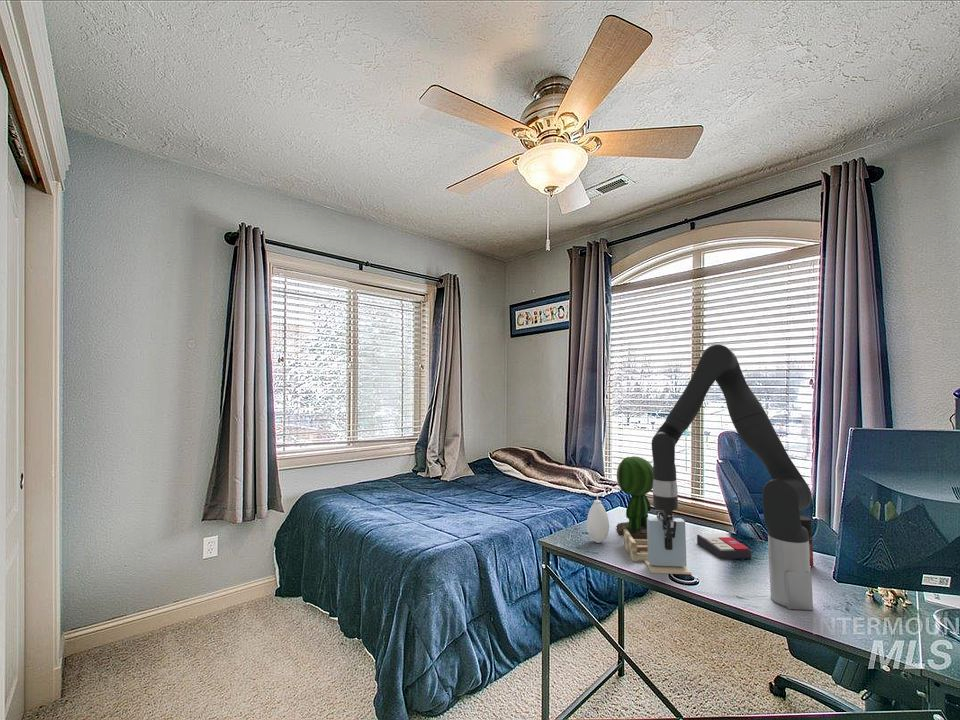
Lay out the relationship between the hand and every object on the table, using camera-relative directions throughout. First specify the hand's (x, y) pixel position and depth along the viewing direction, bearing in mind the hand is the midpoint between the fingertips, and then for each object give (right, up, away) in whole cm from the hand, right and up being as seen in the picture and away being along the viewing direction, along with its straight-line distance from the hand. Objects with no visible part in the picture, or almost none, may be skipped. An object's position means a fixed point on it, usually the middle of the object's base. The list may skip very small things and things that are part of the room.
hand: (666, 546), depth 144 cm
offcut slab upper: (-1, -6, +10) cm, 12 cm away
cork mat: (0, -7, 0) cm, 7 cm away
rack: (0, -7, +12) cm, 14 cm away
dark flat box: (+26, -8, +15) cm, 31 cm away
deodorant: (+46, -7, +2) cm, 46 cm away
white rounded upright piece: (-16, -8, +24) cm, 30 cm away
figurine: (+3, -9, +34) cm, 36 cm away
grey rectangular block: (0, -5, 0) cm, 5 cm away
